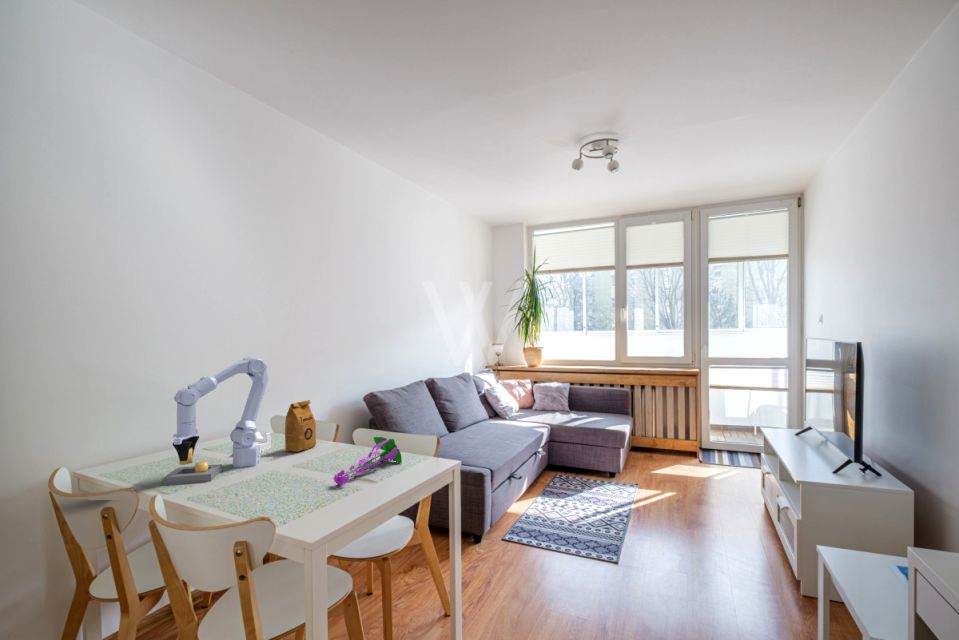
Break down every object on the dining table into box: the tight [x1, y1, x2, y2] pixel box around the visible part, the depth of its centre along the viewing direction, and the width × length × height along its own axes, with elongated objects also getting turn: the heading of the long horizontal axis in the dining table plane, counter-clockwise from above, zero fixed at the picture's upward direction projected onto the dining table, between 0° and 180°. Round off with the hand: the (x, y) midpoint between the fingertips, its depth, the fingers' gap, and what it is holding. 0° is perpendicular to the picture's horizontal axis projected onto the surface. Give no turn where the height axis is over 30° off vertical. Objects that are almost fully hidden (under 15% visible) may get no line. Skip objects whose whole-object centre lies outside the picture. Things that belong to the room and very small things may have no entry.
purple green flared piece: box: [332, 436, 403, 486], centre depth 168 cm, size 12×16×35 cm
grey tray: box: [162, 463, 223, 486], centre depth 158 cm, size 15×11×4 cm
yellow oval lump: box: [178, 448, 193, 466], centre depth 157 cm, size 4×4×5 cm
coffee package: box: [284, 399, 317, 453], centre depth 198 cm, size 10×12×22 cm
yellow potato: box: [194, 461, 209, 473], centre depth 159 cm, size 4×4×5 cm
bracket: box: [253, 431, 272, 453], centre depth 195 cm, size 13×7×8 cm, turn 165°
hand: (186, 458), depth 158 cm, fingers closed on yellow oval lump, 4 cm apart
